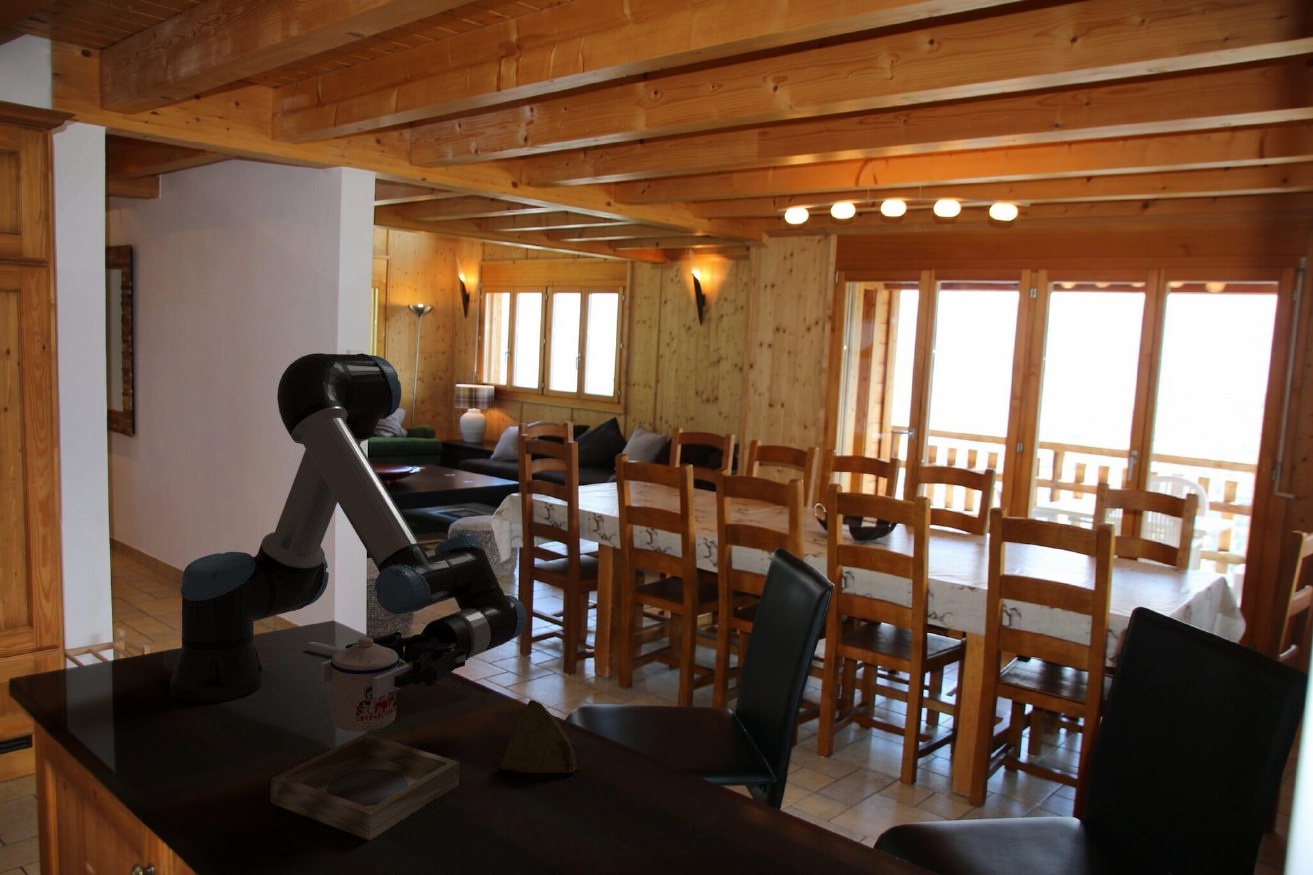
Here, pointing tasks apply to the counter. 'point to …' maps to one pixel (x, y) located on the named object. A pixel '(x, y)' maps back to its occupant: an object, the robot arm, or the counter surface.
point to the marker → (322, 649)
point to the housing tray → (365, 785)
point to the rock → (539, 744)
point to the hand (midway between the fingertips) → (348, 680)
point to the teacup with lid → (362, 686)
